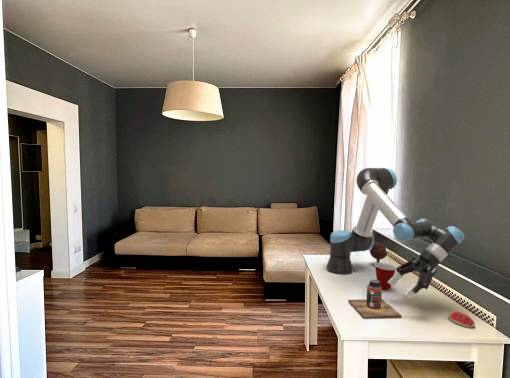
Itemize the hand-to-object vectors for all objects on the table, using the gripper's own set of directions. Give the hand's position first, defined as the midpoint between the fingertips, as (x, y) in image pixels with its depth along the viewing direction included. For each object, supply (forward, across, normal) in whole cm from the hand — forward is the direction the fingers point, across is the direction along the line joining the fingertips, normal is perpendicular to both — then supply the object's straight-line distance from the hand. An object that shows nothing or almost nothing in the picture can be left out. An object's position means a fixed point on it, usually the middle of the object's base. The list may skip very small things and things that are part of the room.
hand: (397, 290), depth 132 cm
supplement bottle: (+13, 0, +2) cm, 13 cm away
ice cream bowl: (-9, +60, -21) cm, 64 cm away
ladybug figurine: (-8, -13, -19) cm, 25 cm away
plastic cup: (+2, +23, -10) cm, 25 cm away
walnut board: (+13, 0, +2) cm, 14 cm away
